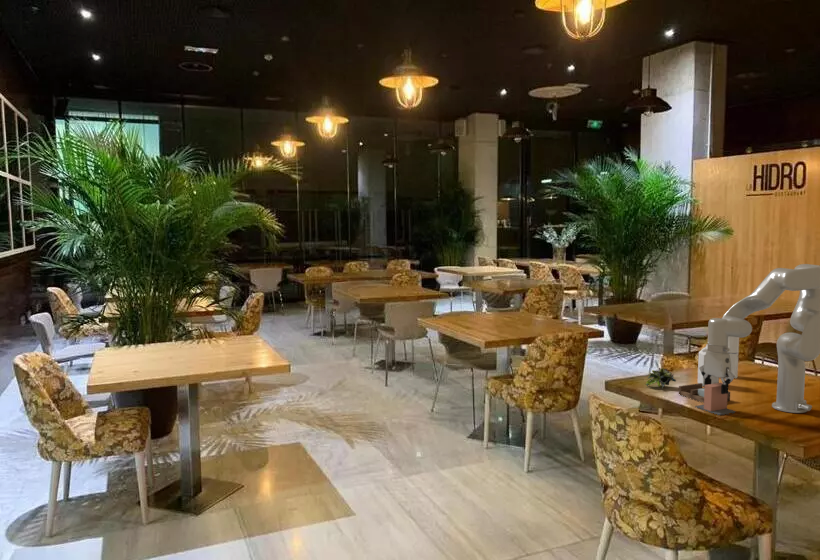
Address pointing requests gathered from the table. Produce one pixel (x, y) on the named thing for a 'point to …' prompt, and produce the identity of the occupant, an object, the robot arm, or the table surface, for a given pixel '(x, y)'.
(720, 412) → the slate mat
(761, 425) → the table surface
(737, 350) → the cylindrical container
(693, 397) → the rack
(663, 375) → the passion flower
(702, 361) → the milk carton
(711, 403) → the pink rectangular block
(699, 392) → the offcut upper
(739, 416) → the table surface
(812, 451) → the table surface
